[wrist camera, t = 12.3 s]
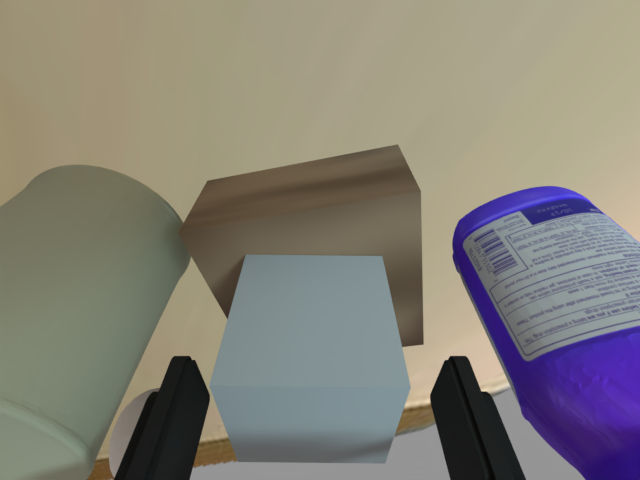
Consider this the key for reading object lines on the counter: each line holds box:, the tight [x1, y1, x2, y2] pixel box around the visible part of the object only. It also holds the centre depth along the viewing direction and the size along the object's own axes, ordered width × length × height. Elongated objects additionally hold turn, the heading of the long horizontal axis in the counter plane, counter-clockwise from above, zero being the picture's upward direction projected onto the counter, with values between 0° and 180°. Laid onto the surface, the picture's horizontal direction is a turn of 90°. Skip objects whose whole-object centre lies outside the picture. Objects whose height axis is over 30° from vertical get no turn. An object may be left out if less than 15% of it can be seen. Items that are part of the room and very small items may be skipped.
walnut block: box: [178, 144, 424, 347], centre depth 18 cm, size 10×10×5 cm
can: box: [0, 165, 191, 480], centre depth 15 cm, size 9×9×12 cm
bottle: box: [452, 186, 640, 480], centre depth 13 cm, size 7×6×17 cm
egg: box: [109, 388, 160, 478], centre depth 28 cm, size 5×5×7 cm
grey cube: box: [209, 255, 411, 463], centre depth 14 cm, size 6×6×6 cm
